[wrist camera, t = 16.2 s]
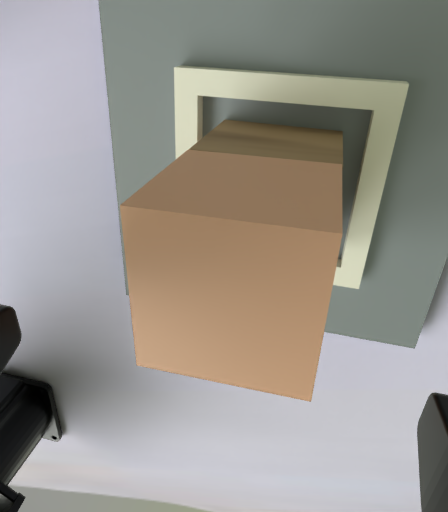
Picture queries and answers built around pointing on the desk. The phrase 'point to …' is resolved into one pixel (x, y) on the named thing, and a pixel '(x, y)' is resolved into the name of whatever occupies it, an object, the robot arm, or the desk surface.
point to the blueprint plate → (304, 122)
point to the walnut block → (274, 141)
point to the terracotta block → (234, 268)
